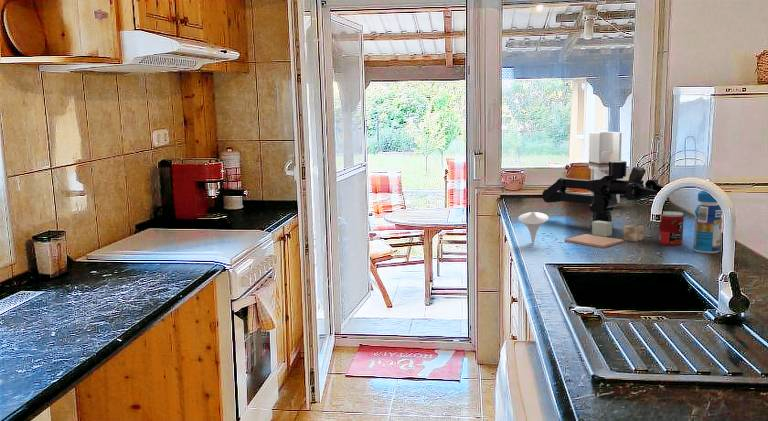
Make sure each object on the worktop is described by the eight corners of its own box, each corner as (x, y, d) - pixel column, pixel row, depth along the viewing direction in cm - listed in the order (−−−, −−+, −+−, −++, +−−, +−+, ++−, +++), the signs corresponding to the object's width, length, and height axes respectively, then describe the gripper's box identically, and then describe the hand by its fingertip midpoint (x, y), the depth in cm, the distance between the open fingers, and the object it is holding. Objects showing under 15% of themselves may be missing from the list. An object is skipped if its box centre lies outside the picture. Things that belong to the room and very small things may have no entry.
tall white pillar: (587, 204, 325) (589, 132, 319) (608, 203, 326) (610, 131, 320) (597, 208, 313) (599, 133, 308) (619, 207, 315) (621, 132, 309)
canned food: (672, 247, 230) (673, 215, 228) (653, 243, 237) (654, 212, 235) (687, 244, 233) (688, 213, 232) (668, 240, 240) (669, 210, 239)
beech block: (623, 239, 244) (623, 226, 243) (630, 237, 247) (631, 224, 246) (636, 241, 240) (636, 228, 240) (643, 239, 244) (643, 226, 243)
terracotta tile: (564, 241, 244) (564, 239, 244) (585, 236, 252) (585, 233, 252) (603, 247, 232) (603, 245, 231) (623, 242, 240) (623, 239, 240)
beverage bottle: (688, 248, 227) (691, 190, 224) (713, 248, 227) (716, 190, 223) (699, 254, 219) (702, 194, 215) (725, 253, 218) (728, 193, 215)
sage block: (591, 234, 255) (592, 221, 254) (597, 233, 257) (598, 220, 256) (605, 236, 250) (606, 223, 249) (611, 235, 253) (612, 222, 252)
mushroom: (546, 246, 236) (546, 213, 234) (515, 244, 240) (516, 212, 238) (549, 240, 246) (550, 208, 244) (520, 239, 250) (520, 207, 248)
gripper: (612, 169, 252) (651, 172, 240) (638, 165, 264) (676, 167, 252) (611, 198, 254) (650, 202, 242) (637, 193, 266) (675, 196, 254)
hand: (663, 191), depth 247 cm, fingers open, 9 cm apart
